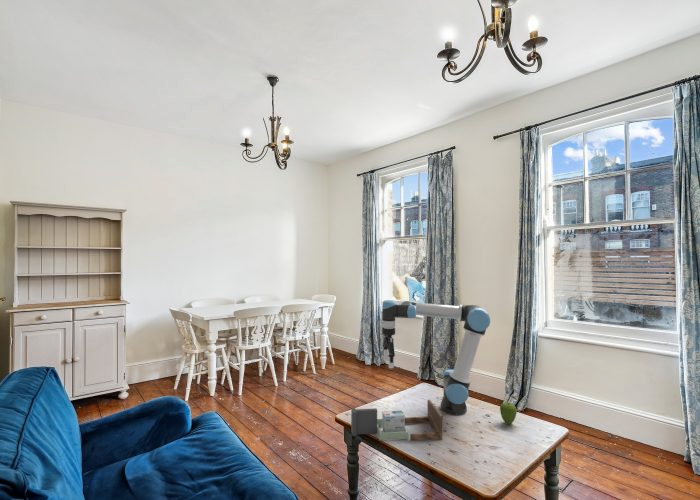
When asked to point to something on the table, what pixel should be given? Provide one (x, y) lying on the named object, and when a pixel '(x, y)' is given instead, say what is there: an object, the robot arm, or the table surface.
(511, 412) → the green rounded lump
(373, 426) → the pull cradle
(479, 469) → the table surface
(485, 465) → the table surface
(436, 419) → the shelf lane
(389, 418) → the light bulb box
